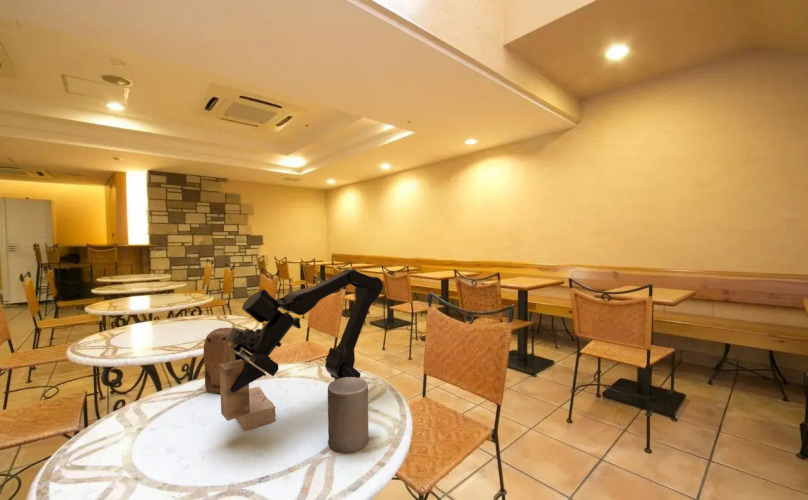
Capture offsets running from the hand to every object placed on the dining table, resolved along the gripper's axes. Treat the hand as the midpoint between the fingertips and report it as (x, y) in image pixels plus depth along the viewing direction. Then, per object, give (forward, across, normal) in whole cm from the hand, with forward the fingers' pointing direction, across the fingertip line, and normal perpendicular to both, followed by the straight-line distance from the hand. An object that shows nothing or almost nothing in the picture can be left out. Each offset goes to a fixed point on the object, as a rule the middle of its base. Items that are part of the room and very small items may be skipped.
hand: (228, 388), depth 80 cm
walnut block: (+4, 0, +6) cm, 7 cm away
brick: (+4, -11, +16) cm, 20 cm away
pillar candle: (-5, +19, +25) cm, 32 cm away
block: (+4, -35, +15) cm, 38 cm away
